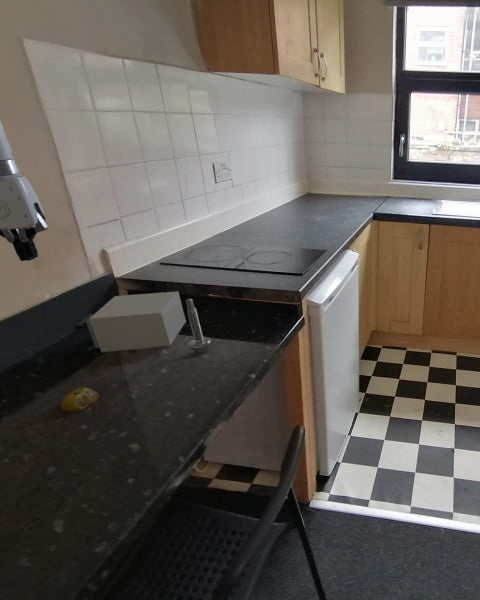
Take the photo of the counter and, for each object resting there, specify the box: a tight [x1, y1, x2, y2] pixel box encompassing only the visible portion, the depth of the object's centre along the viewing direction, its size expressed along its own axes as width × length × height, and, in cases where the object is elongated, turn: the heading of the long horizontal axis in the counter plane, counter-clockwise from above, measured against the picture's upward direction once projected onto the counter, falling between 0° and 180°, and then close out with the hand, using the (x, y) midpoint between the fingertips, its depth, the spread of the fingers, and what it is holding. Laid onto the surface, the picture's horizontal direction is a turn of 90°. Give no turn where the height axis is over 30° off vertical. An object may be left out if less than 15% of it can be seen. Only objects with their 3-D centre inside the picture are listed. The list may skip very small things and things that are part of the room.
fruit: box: [60, 386, 100, 412], centre depth 73 cm, size 8×8×4 cm
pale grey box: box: [89, 290, 187, 353], centre depth 96 cm, size 15×13×9 cm
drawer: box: [74, 313, 100, 349], centre depth 96 cm, size 18×11×7 cm, turn 101°
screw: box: [185, 298, 212, 354], centre depth 89 cm, size 13×5×5 cm
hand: (29, 258), depth 87 cm, fingers closed
